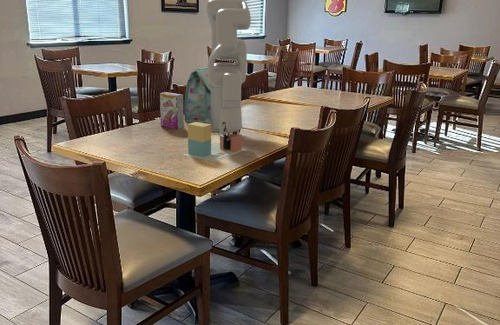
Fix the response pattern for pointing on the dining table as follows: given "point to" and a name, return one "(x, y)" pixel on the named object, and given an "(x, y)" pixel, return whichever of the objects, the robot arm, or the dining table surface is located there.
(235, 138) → the brick
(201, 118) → the lunch bag
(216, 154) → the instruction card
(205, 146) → the tower base
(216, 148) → the mat
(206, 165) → the dining table surface
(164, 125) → the candy bar box
